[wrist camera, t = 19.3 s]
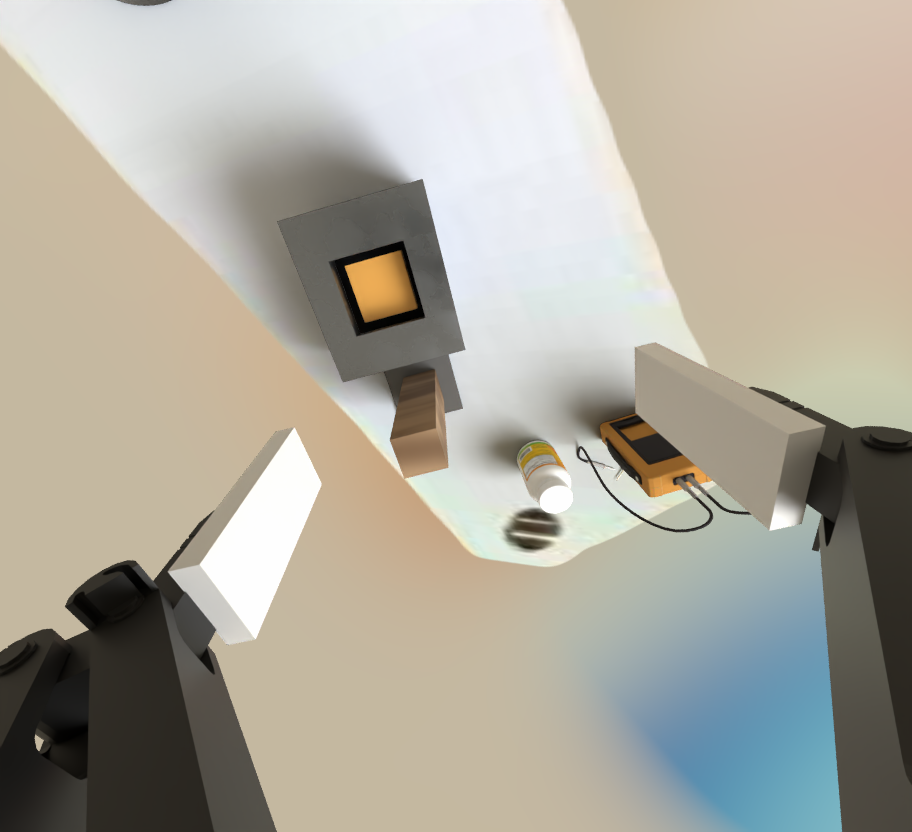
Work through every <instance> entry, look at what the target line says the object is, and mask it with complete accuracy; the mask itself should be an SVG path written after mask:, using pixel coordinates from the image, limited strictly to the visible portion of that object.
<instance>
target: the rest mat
mask: <svg viewBox="0 0 912 832" xmlns="http://www.w3.org/2000/svg"><path fill="white" fill-rule="evenodd" d="M434 369H435V371H436V374H437V378H438V381H439V384H440V388H441V391H442V395H443V398H444V411H445V413H447V412H451V411H455V410H459V409H463V407H462V403H461V400H460V396H459V392H458V389H457V385H456V381H455V377H454V374H453V370H452V366H451V363H450V359H449V355H448V354H447V355H444V356H440V357H436V358H432V359H429V360H425V361H421V362H417V363H413V364H410V365H406V366H402V367H398V368H395V369H391V370H387V371H384V372H385V375H386V378H387V381H388V384H389V387H390V389H391V392H392V395H393V398H394V401H395V403H396V406H397V405H398V400H399V396H400V391H401V387H402V382H403V378H404V377H408V376H411V375H415V374H419V373H423V372H426V371H430V370H434Z"/></svg>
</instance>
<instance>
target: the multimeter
mask: <svg viewBox="0 0 912 832" xmlns="http://www.w3.org/2000/svg"><path fill="white" fill-rule="evenodd" d="M600 431H601V436H602V441H603V443H605V445H606V446H607V447H608V450H609V452H610V454H611V455H612V457H613V458H614V460H615V461H616V462H617V463H618V464H619V465H620V467H621V468H622V470H623V471H622V472H621V474H620V475H619V477H618V478H617V480H618V479H619V478H620V476H621V475H622V473H623V472H624V471H625V472H626V473H627V474H628V475H629V476H630V477H631V478H633V479H634V480H635V481H636V482H637V483H638V484H639V485H640V487H641V488H642V489H643V490H644V491H645V493H646V494H647V495H648V496H649V497H658V496H662V495H664V494H667V493H671V492H674V491H677V490H681V489H683V490H684V491H686V492H688V493H689V494H690V495H691V496H692V497H693V498H694V499H696V500H697V501H698V502H699V503H700V504H701V505H702V506H703V507H704V508H706V509H707V510H708V511H709V514H710V518H709V520H708V521H707V522H706V523H705V524H703V525H701V526H699V527H696V528H691V529H686V530H685V529H684V530H683V529H681V530H675V529H670V528H665V527H662V526H659V525H656V524H654V523H652V522H650V521H648V520H646V519H644V518H642V517H641V516H639V515H637V514H636V513H634V512H633V511H632V510H630V509H629V508H627V507H626V506H625V505H624V504H623V503H621V502H620V501H619V500H618V499H617V498H616V497H615V496H614V495H613V494H612V493H611V492H610V491H609V490H608V488H607V487H606V486H605V484H604V482H603V481H602V479H601V477H600V476H599V474H598V472H597V470H596V469H595V467H594V466H598V467H601V468H603V469H604V468H609V469H612V470H616V469H614V468H610V467H607V466H605V464H600V463H596V462H592V461H591V459H590V458H589V456H588V454H587V452H586V451H585V449H584V448H583V447H582V446H580V447H579V448H578V453H577V455H578V458H579V459H580V460H581V461H584V462H586V463H588V464H591V466H592V467H593V469H594V471H595V473H596V475H597V477H598V478H599V480H600V482H601V484H602V485H603V487H604V488H605V489H606V491H607V492H608V493H609V494H610V495H611V496H612V497H613V498H614V499H615V500H616V501H617V502H618V503H619V504H620V505H621V506H622V507H624V508H625V509H626V510H627V511H629V512H630V513H632V514H633V515H635V516H636V517H638V518H639V519H641V520H643V521H645V522H647V523H649V524H651V525H653V526H655V527H658V528H661V529H664V530H667V531H673V532H690V531H695V530H698V529H701V528H704V527H705V526H707V525H709V524H710V523H711V521H712V519H713V513H712V511H711V510H710V509H709V508H708V507H707V506H706V505H705V504H704V503H703V502H702V501H701V500H700V499H699V498H698V496H697V495H696V494H695V493H694V492H693V491H692V490H691V488H690V487H691V486H694V487H695V488H696V489H699V490H700V491H701V492H702V493H703V494H704V495H705V496H707V497H708V498H709V499H710V500H712V501H713V502H714V503H715V504H716V505H717V506H718V507H719V508H720V509H722V510H724V511H726V512H729V513H734V514H745V515H746V514H748V515H752V514H750V513H749V512H739V511H731V510H728V509H726V508H724V507H722V506H721V505H720V504H719V503H718V502H717V501H716V500H715V499H713V498H712V497H711V496H710V495H709V493H708V492H707V491H705V489H703V487H701V483H705V482H710V481H712V479H710V478H709V477H708V476H707V475H706V474H705V473H704V472H702V471H701V470H700V469H699V468H698V467H697V466H696V465H695V464H693V463H692V462H691V461H690V460H689V459H688V458H687V457H685V456H684V455H683V454H682V453H681V452H680V451H679V450H677V449H676V448H675V447H674V446H673V445H672V444H671V443H669V442H668V441H667V440H666V439H665V438H664V437H663V436H661V435H660V434H659V433H658V432H657V431H656V430H655V429H653V428H652V427H651V426H650V425H649V424H648V423H647V422H645V421H644V420H643V419H642V418H641V417H640V416H639V415H638V414H636V413H635V414H632V415H629V416H626V417H623V418H620V419H616V420H613V421H610V422H605V423H602V424H601V425H600ZM580 449H582V450H583V451H584V453H585V455H586V456H587V458H588V460H589V461H586V460H583V459H582V458H580V456H579V452H580Z"/></svg>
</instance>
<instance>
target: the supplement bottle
mask: <svg viewBox="0 0 912 832" xmlns="http://www.w3.org/2000/svg"><path fill="white" fill-rule="evenodd" d="M517 463H518V466H519V469H520V471H521V474H522V477H523V479H524V482H525V484H526V487H527V490H528V492H529V494H530V496H531V497H532V498H533V499H534V500H535V501H537V502H539V505H540V507H541V508H542V509H543V510H544V511H546V512H548V513H559V512H562V511H564V510H566V509H567V508H568V507H569V506H570V505H571V503H572V500H573V494H572V491H571V490H570V488H571V478H570V476H569V474H568V472H567V470H566V469H565V467H564V465H563V463H562V462H561V460H560V458H559V456H558V455H557V453H556V451H555V450H554V448H553V447H552V446H551V445H550V444H549V443H547V442H544V441H532V442H529V443H527V444H526V445H524V446H523V447H522V448H521V449H520V451H519V453H518V456H517Z"/></svg>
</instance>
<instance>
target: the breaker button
mask: <svg viewBox="0 0 912 832" xmlns="http://www.w3.org/2000/svg"><path fill="white" fill-rule="evenodd" d="M345 269H346V271H347V274H348V277H349V280H350V283H351V285H352V288H353V291H354V294H355V297H356V299H357V302H358V305H359V308H360V311H361V313H362V316H363V319H364V322H365V323H366V322H370V321H374V320H377V319H381V318H385V317H388V316H392V315H396V314H399V313H403V312H407V311H410V310H414V309H417V308H418V303H417V299H416V296H415V293H414V289H413V286H412V282H411V279H410V275H409V272H408V268H407V265H406V262H405V258H404V255H403V251H402V250H400V251H396V252H392V253H389V254H385V255H382V256H378V257H375V258H371V259H368V260H364V261H361V262H357V263H354V264H350V265H347V266H345Z"/></svg>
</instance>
